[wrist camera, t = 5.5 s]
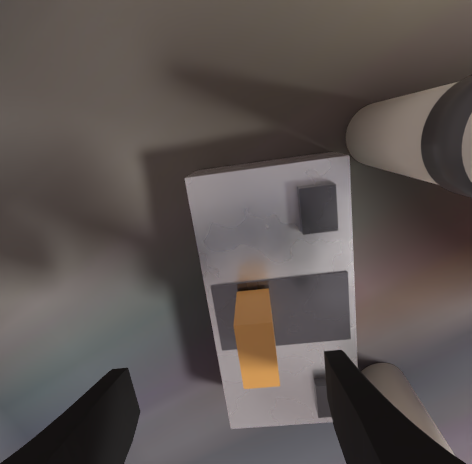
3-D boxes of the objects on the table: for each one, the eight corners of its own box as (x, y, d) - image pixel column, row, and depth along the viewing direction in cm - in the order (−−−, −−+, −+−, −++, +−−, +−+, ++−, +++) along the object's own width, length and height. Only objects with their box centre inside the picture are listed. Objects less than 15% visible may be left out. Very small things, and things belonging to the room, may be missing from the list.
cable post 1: (422, 115, 15) (701, 85, 6) (389, 177, 16) (582, 239, 7) (363, 89, 15) (551, 13, 6) (332, 153, 16) (449, 181, 7)
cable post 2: (416, 372, 20) (571, 596, 10) (389, 409, 21) (508, 648, 11) (369, 354, 19) (483, 566, 10) (345, 393, 20) (427, 621, 11)
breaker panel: (332, 151, 16) (354, 156, 13) (344, 379, 20) (363, 430, 17) (195, 170, 17) (181, 180, 13) (233, 387, 21) (230, 438, 17)
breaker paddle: (268, 288, 15) (272, 322, 12) (275, 343, 16) (280, 386, 13) (236, 291, 15) (233, 325, 12) (245, 346, 16) (243, 388, 13)
